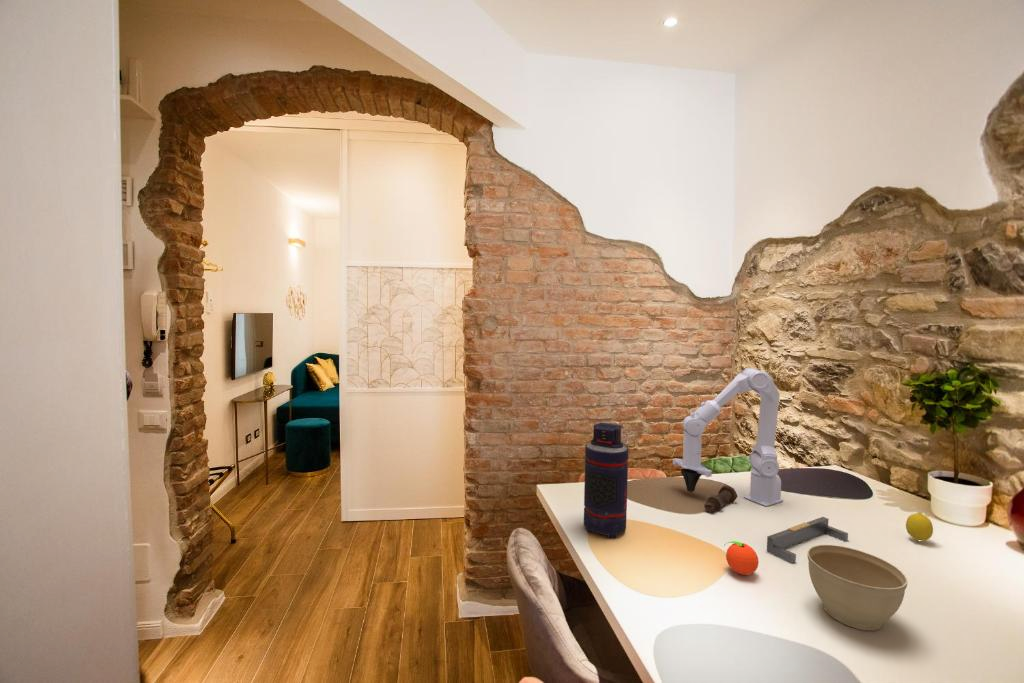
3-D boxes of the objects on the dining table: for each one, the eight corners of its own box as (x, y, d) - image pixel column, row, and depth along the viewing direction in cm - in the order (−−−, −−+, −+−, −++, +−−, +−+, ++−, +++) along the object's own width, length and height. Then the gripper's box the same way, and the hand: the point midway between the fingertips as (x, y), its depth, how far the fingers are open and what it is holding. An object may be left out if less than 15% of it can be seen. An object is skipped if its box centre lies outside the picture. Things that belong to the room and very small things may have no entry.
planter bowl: (878, 655, 81) (881, 597, 81) (788, 604, 96) (791, 554, 95) (920, 628, 89) (923, 574, 88) (831, 584, 103) (833, 538, 103)
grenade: (618, 543, 121) (621, 432, 119) (576, 532, 127) (579, 426, 125) (633, 523, 132) (636, 422, 131) (595, 514, 139) (597, 417, 137)
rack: (822, 530, 130) (822, 515, 130) (847, 540, 124) (848, 525, 124) (766, 551, 117) (767, 535, 117) (792, 563, 112) (792, 547, 112)
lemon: (927, 539, 125) (929, 511, 125) (935, 548, 120) (937, 519, 120) (901, 534, 128) (903, 507, 127) (909, 543, 123) (911, 514, 122)
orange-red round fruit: (715, 568, 109) (716, 540, 109) (729, 559, 113) (731, 532, 113) (749, 584, 103) (750, 554, 102) (763, 574, 107) (764, 545, 107)
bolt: (705, 518, 141) (726, 504, 151) (720, 515, 138) (740, 500, 148) (697, 499, 143) (718, 486, 153) (711, 496, 139) (731, 483, 149)
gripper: (667, 447, 158) (665, 485, 159) (702, 459, 145) (700, 500, 146) (681, 445, 162) (680, 482, 162) (716, 456, 149) (715, 496, 150)
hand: (690, 490), depth 154 cm, fingers closed
